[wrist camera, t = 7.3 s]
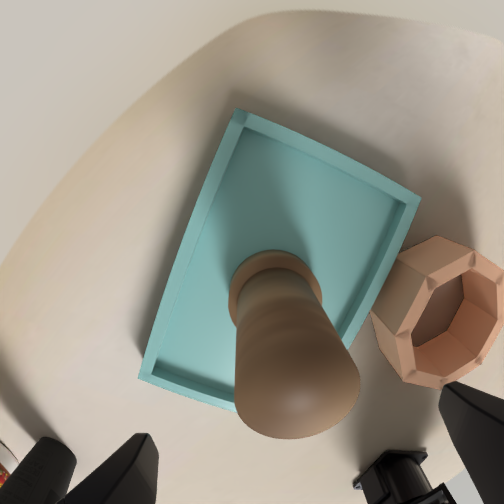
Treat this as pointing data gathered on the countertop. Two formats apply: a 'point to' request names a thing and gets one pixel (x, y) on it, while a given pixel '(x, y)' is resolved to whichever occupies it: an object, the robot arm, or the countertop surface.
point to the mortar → (415, 300)
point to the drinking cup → (40, 475)
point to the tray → (272, 247)
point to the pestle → (287, 350)
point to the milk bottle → (6, 464)
